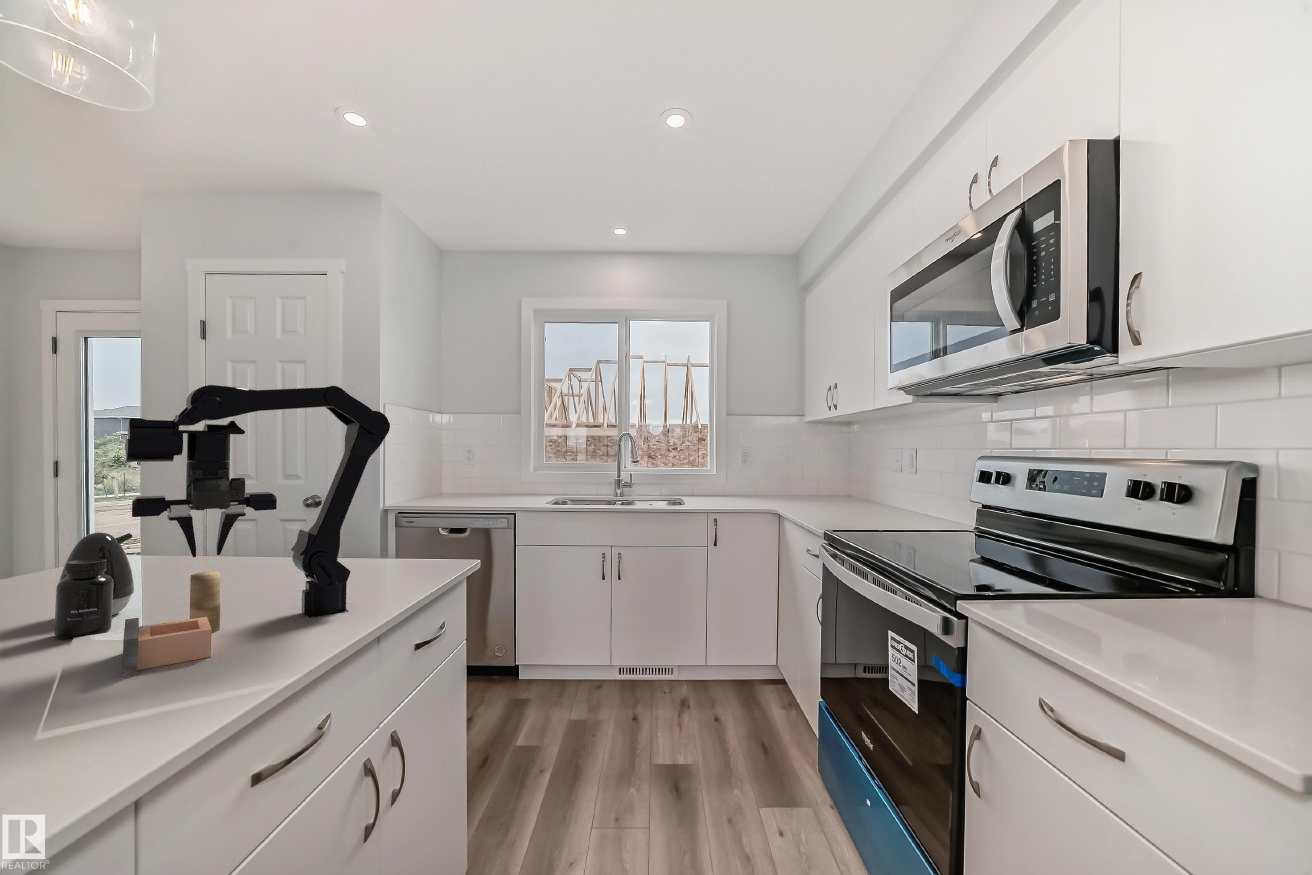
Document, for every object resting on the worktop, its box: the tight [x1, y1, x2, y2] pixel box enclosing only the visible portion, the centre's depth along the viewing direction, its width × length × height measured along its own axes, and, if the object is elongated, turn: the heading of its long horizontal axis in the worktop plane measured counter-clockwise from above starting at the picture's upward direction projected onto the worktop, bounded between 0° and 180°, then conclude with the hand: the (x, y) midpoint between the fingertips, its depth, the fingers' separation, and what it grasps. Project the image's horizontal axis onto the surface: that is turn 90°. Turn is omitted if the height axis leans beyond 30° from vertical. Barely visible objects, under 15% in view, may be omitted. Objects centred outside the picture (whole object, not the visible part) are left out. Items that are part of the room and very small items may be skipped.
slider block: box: [138, 617, 212, 671], centre depth 86 cm, size 8×8×4 cm
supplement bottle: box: [53, 559, 114, 640], centre depth 97 cm, size 7×7×12 cm
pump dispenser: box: [58, 531, 135, 617], centre depth 107 cm, size 10×10×15 cm
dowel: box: [189, 571, 222, 634], centre depth 97 cm, size 4×4×10 cm
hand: (206, 555), depth 97 cm, fingers open, 3 cm apart
